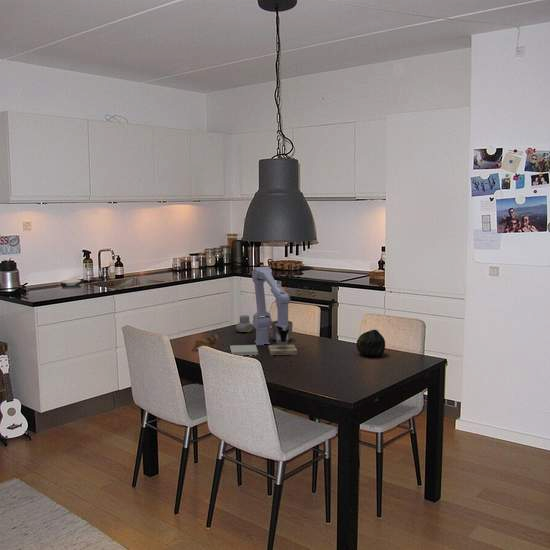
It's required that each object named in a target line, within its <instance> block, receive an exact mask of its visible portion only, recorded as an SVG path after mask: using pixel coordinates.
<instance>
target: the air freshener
mask: <svg viewBox="0 0 550 550" xmlns="http://www.w3.org/2000/svg"><path fill="white" fill-rule="evenodd" d="M253 329H254V326H253V323H252V322H250V316H249V315H247V314H244V315H243V314H242V315H240V316H239V322H238V323H237V324H236V325H235V330H236V331H237V332H239V333H241V332H248V333H250V332H252V331H253Z"/></svg>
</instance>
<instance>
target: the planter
mask: <svg viewBox="0 0 550 550" xmlns="http://www.w3.org/2000/svg"><path fill="white" fill-rule="evenodd" d="M275 324H278V319H277V320H272V325H271V326H270V329H271V336H272V339H273V340H274V341H275V340H276V333H279V331H278V329H277V327H278V326H276V325H275ZM287 329H289V332H288V333H287V334H288V341H290V340H291V338H292V335H293V321H291V320H288V326H287Z"/></svg>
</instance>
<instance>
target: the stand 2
mask: <svg viewBox="0 0 550 550" xmlns="http://www.w3.org/2000/svg"><path fill="white" fill-rule="evenodd" d="M267 346H268V348H267V349H269V350H268V352H269V351H270V352H269V354H270V356H271V357H274V356H273V355H291V356H298V349H297V347H296V346H295V344H294V343H288V344H270V345H267Z"/></svg>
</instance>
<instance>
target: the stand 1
mask: <svg viewBox="0 0 550 550" xmlns="http://www.w3.org/2000/svg"><path fill="white" fill-rule="evenodd" d="M229 347H230V348H229V351H230V350H231V352H230V354H231V353H232V354H237V355H241V356H243V355H249V356H248V357H253V356H252V355H255V356H254V357H257V356H256V355H258V356H259V351H258V348H257V345H256V344H243V345H242V344H241V345H239V344H238V345H236V344H234V345H230V346H229ZM243 357H244V356H243Z"/></svg>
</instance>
